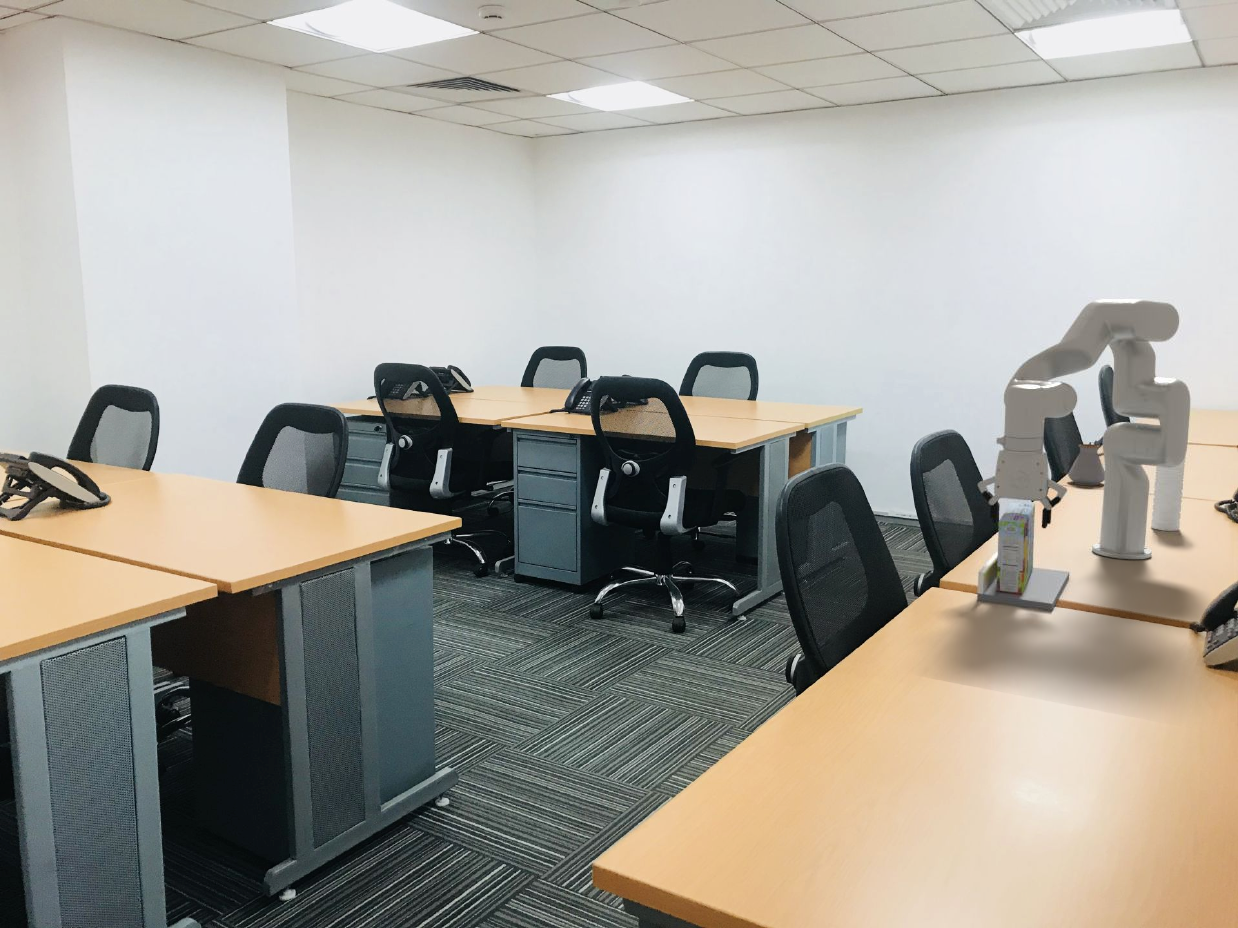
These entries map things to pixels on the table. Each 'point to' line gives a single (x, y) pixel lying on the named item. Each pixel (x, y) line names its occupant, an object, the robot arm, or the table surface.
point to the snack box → (1015, 547)
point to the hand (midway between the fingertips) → (1019, 524)
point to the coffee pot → (1087, 466)
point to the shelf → (1037, 591)
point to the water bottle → (1168, 497)
